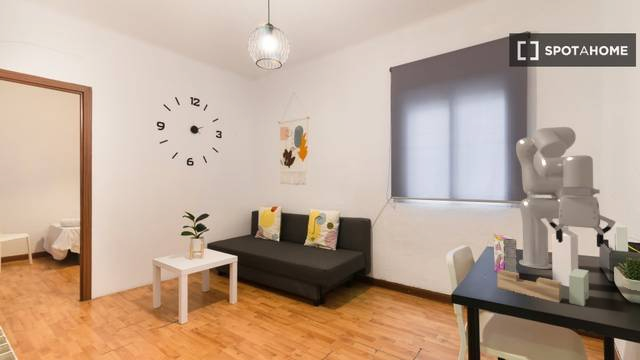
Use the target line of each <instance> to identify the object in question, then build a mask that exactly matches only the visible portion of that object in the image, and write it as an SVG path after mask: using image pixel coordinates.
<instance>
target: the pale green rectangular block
mask: <svg viewBox="0 0 640 360" xmlns="http://www.w3.org/2000/svg"><path fill="white" fill-rule="evenodd" d="M589 280H590V279H589V270H587V269H580V268H578V269H576V268H575V269H574V270H573V271H572V272H571V274H570V275H569V287H568V288H569V291H568V292H569V293H568V297H569V299H568V301H569V302H568V303H569V304H572V305H577V306H582V307H585V306H586V300H588V299H589V296H590V295H589V294H590V293H589V292H590V289H589V287H590V286H589V285H590V284H589V283H590V282H589Z"/></svg>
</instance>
